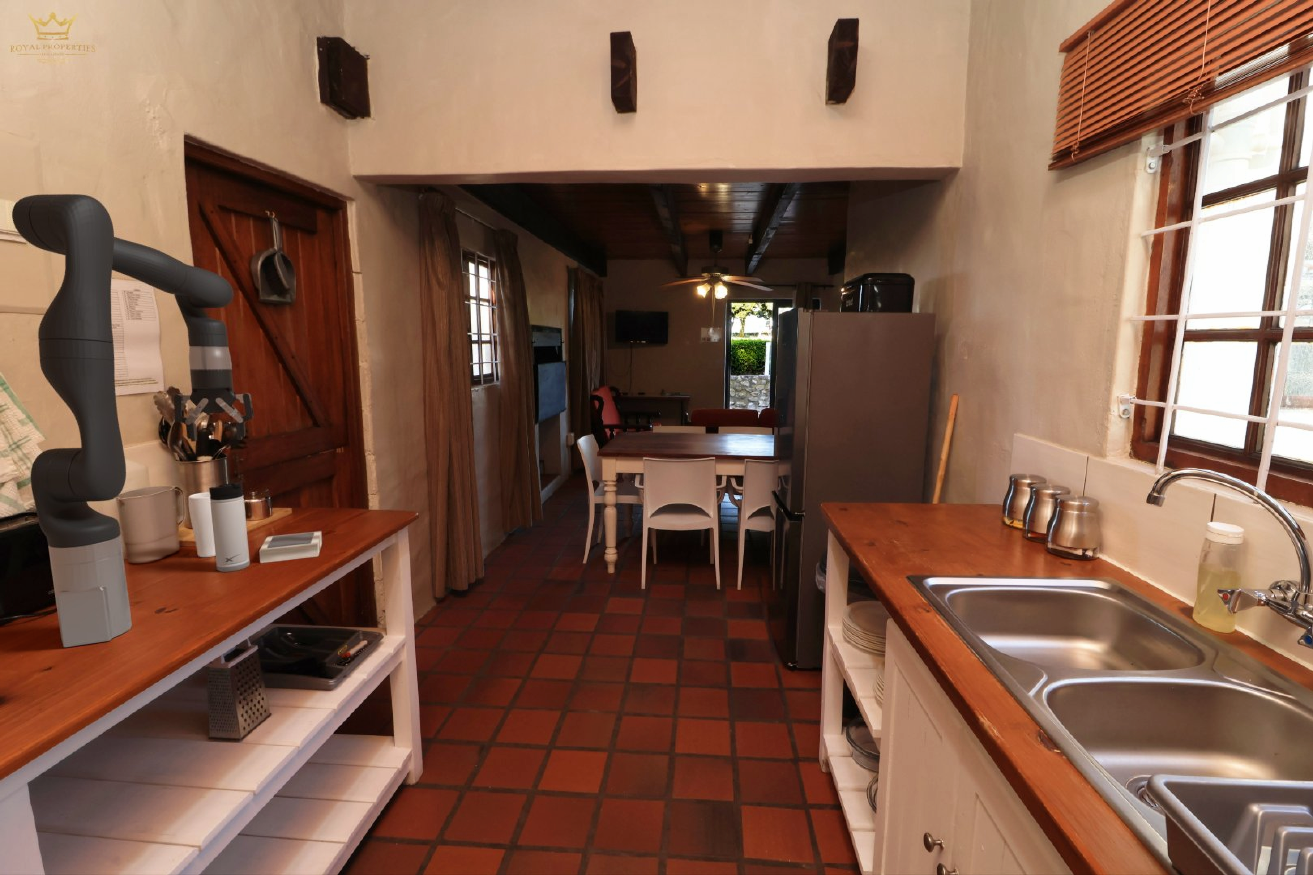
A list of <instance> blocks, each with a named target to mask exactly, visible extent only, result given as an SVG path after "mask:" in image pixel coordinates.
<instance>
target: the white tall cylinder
mask: <svg viewBox="0 0 1313 875" xmlns="http://www.w3.org/2000/svg"><path fill="white" fill-rule="evenodd" d="M210 496H211V495H210V491H207V492H199V493H194V494H190V495H188V501H187V502H188V511H189V518H190V522H191V526H192V530H193V532H192V533H193V534H194V540H195V546H196V552H197V553H196V554H197V556H198V557H200V558H212V557H216V554H215V544H214V534H213V524H212V514H211V504H210V502H211V501H210Z"/></svg>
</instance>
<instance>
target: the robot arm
mask: <svg viewBox="0 0 1313 875" xmlns="http://www.w3.org/2000/svg"><path fill="white" fill-rule="evenodd" d="M11 212H12V213H11V217H12V224H13V225H14V228H15V229H16V231H17V233H18V234H19V235H20V236H21V237H22V238H23V239H24V240H25V241H26V242H27V243H29V244H30V245H32V246H33V247H35V248H38V249H39V250H40V249H41V250H43V251H47V252H50V253H54V254H58V255H62V256H64V274H63V276H64V277H63V279H62V283H61V285H60V288H59V290H58V292H57V293H56V295H55V296H54V298H53V300H52V301H51V302H50V303H49V304H50V305H49V306H48V308H47V309H46V311H45V313H44V315H43V316H42V318H41V321H40V323H39V326H38V331H37V334H38V336H37V338H38V351H39V365H40V368H41V373H42V374H43V376H44V377H45V379H46V381H47V382H48V384H50V386H51V387H52V389H53V390H54V392H56V394H57V395H58V396H59V397H60V399H61V400H62V401H63V402H64V404H66V406H67V407H68V408H69V410H70V411H71V413H72V414H73V416H74V419H75V420H76V424H77V426H78V431H79V435H80V436H79V437H80V445H81V446H80V447H59V448H58V447H57V448H56V447H55V448H50V449H47V450H44V451H41V452H40V454H38V455H37V456H36V457H35V459H34V461H33V463H32V466H31V468H30V487H31V493H32V496H33V502H34V505H35V509H36V515H37V519H38V524H39V527H40V530H41V531H42V533H43V534H44V536H45V537H46V540H47V545H48V553H49V560H50V570H51V575H52V581H53V589H54V595H55V605H56V609H57V617H58V618H57V619H58V625H59V630H60V631H59V632H60V639H61V643H62V647H63V648H70V647H76V646H83V645H89V644H96V643H102V642H103V643H104V642H108V641H109V642H110V641H111V640H112V639H113V638H115V637H118V636H120V635H122V634H124V633H126V632H128V631H129V630H131V628H132V624H133V623H132V616H131V615H132V614H131V606H130V600H129V599H130V598H129V592H128V591H129V590H128V584H127V577H126V568H125V561H124V552H123V543H122V535H121V534H122V533H121V526H120V522H119V520H118V519H117V518H115V517H113V516H109V515H106V514H103V513H101V512H99V511H97V510H95V509H93V507H91V506H90V505H89V504H88V503H89V502H93V503H94V502H105V501H107V502H108V501H111V500H114V499H116V498H117V497H118V496H119V495H121V492H122V491H123V489H124V487H125V484H126V478H127V466H126V465H127V464H126V457H125V451H124V445H123V440H122V434H121V429H120V423H119V422H120V421H119V417H118V407H117V396H116V395H117V394H116V380H115V376H116V375H115V369H116V368H115V363H116V362H115V344H114V335H113V325H112V324H113V323H112V320H113V319H112V277H113V276H112V273H113V271H114V272H116V273H119V274H122V275H125V276H127V277H130V278H132V279H135V280H137V281H139V282H142V283H144V284H146V285H148V286H151V287H153V288H155V289H157V290H159V291H162V292H163V293H167V294H170V295H173V296H174V300H175V301H176V304H177V306H178V309H179V311H180V314H181V315H182V316H181V317H182V318H183V321H184V323H185V325H186V328H187V329H186V330H187V338H188V340H187V341H188V347H189V348H188V363H189V364H188V365H189V372H190V373H189V374H190V384H191V385H190V386H191V393H190V394H189V395H187V394H182V393H178V394H175V395H174V396H173V402H174V403H173V404H174V405H173V408H174V410H173V411H174V421H175V422H176V423H181V424H182V423H183V425H185V427H186V437H187V439H188V440H190V441H191V442H198V434H197V424H196V423H195V422H196V420H198V419H199V417H200V416H201V415H202V414H213V413H216V414H224V413H227V414H228V415H229V416H230V417H232V418H233V419H234V420H235V421H236V423H235V428H236V438H237V440H242V439H243V438H244V437H245V436H246V434H247V433H246V432H247V431H246V422H247V421H250V420H252V419H254V417H255V414H254V408H253V402H252V395H251V394H250V393H249V392H245V393H241V394H240V393H239V394H236V393H235V391H234V382H233V381H234V380H233V379H234V378H233V368H232V367H233V364H232V359H231V358H232V356H231V353H230V350H229V348H230V347H229V339H228V330H227V329H228V328H227V324H226V323H225V322H224V321H222V320H220V319H214V318H210V317H209V315H208V313H207V311H206V309H221V308H225V307H227V306H229V305H231V303H232V302H233V300H234V296H235V295H234V294H235V292H234V290H233V287H232V284H230V282H229V281H228V280H227V279H225V278H224V277H223V276H222V275H219V274H217V273H215V272H212V271H211V270H206V269H204V268H200V267H197V266H194V265H190V264H187V263H184V262H183V261H181V260H179V259H177V258H176V257H173V256H172V255H170V254H168V253H166V252H163V251H161V250H159V249H156V248H154V247H150V246H147V245H144V244H140V243H138V242H134V241H130V240H126V239H122V238H119V237H118V236H117V237H116V236H115V230H114V226H113V222H112V218H111V215H110V213H109V212H108V210H107V208H106V207H105V206H104V204H103V203H102V202H101V201H99V200H98V199H96V198H95V197H93V196H90V195H88V194H87V195H86V194H80V193H79V194H74V193H72V194H71V193H65V194H64V193H61V194H60V193H59V194H58V193H57V194H56V193H55V194H54V193H53V194H49V193H48V194H47V193H46V194H34V195H28V196H24V197H23V198H20V199H19V200H17V202H15V204H14V205H13V207H12V211H11ZM189 400H190V402H191V403H193V405H194V406H195V407H194V409H193V410H192V411H191V413H190V414H189V416H188V417H187V416H185V405H187V404H188V402H189ZM237 400H239V403H241V404H243V405H244V413H245V415H242V414H241V413H240V411H238V409H237V408H236V407H235V406H234V403H235V401H237Z"/></svg>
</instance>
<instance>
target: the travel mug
mask: <svg viewBox="0 0 1313 875" xmlns="http://www.w3.org/2000/svg"><path fill="white" fill-rule="evenodd" d="M243 491H244V490H243V482H242V481H241V482H239V481H238V482H230V483H225V484H219V485H218V486H215V487H214V486H211V487H209V491H208V492H210V495H211V496H210V501H211V502H210V504H211V514H212V524H213V534H214V544H215V554H216V556H215V562H216V570H217V571H218V572H222V573H230V572H231V573H232V572H237V571H241V570H243V569H246V568H248V567H249V566H250V565H251V564H250V553H249V542H248V534H247V533H248V530H247V528H248V527H247V520H246V519H247V518H246V509H245V508H246V507H245V499H244V498H245V497H244V493H243Z"/></svg>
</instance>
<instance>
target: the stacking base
mask: <svg viewBox="0 0 1313 875" xmlns="http://www.w3.org/2000/svg"><path fill="white" fill-rule="evenodd" d="M322 544H323V535H322V530H318V531H312V532H301V533H289V534H281V535H271V536H267V537H266V538H265V540H264V541H263V544H262V545H261V547H260V549H259V551H258V552H259V562H260V564H263V563H265V564H266V563H272V562H282V561H290V560H298V559H305V558H316V557H319V555H320V551H321V548H322Z"/></svg>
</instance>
